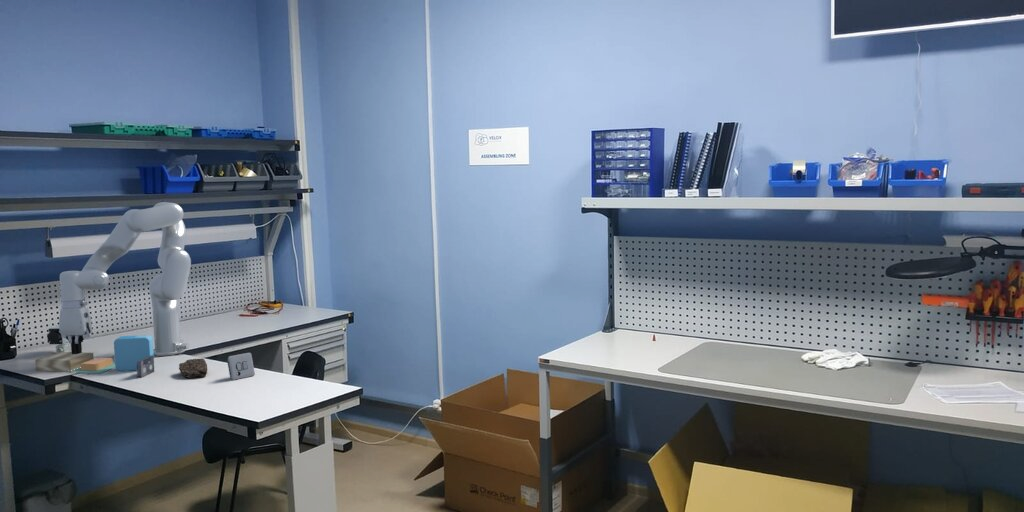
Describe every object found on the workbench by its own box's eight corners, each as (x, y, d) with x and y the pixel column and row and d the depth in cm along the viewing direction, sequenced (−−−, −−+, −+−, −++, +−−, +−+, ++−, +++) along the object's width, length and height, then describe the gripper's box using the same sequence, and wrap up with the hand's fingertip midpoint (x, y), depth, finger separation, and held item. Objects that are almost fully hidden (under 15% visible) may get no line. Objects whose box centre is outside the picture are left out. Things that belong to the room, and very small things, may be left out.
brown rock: (181, 372, 264) (180, 358, 263) (211, 370, 266) (210, 356, 265) (175, 380, 252) (174, 366, 252) (206, 378, 255) (205, 364, 254)
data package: (154, 366, 271) (152, 334, 270) (150, 369, 266) (149, 337, 265) (119, 368, 269) (117, 336, 267) (115, 371, 264) (113, 338, 263)
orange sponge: (97, 357, 274) (97, 363, 274) (80, 363, 265) (80, 370, 265) (112, 358, 273) (112, 364, 273) (95, 364, 264) (96, 370, 264)
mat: (127, 363, 276) (126, 362, 276) (99, 373, 261) (99, 372, 261) (97, 362, 278) (97, 361, 278) (69, 372, 263) (69, 371, 263)
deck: (93, 363, 276) (93, 352, 276) (70, 371, 264) (70, 360, 264) (60, 362, 278) (59, 351, 278) (35, 370, 266) (35, 359, 266)
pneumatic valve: (76, 349, 298) (74, 320, 297) (60, 356, 287) (58, 326, 285) (62, 350, 298) (60, 321, 297) (46, 357, 286) (43, 326, 285)
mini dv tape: (150, 371, 264) (149, 355, 263) (154, 371, 264) (153, 355, 263) (137, 378, 256) (136, 361, 255) (141, 378, 255) (140, 361, 255)
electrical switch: (232, 380, 251) (230, 356, 251) (226, 379, 255) (224, 356, 254) (255, 376, 258) (253, 352, 257) (249, 374, 261) (247, 351, 260)
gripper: (99, 303, 271) (102, 351, 273) (62, 302, 273) (65, 350, 275) (84, 306, 263) (88, 356, 265) (47, 305, 265) (50, 355, 267)
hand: (76, 353), depth 270 cm, fingers closed
